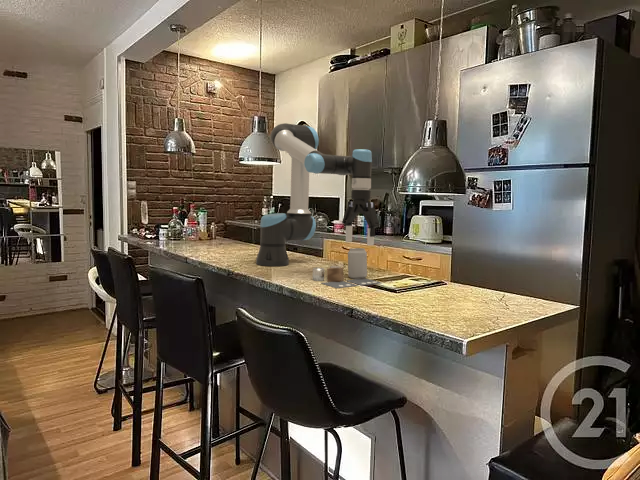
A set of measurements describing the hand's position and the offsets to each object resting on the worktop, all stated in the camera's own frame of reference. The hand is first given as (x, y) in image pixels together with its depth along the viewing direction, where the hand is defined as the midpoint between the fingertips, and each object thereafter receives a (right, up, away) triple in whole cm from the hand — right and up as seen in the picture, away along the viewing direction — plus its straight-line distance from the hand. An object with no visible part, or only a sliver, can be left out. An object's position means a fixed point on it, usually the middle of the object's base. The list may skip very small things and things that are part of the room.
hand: (359, 243), depth 187 cm
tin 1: (-16, -15, -5) cm, 22 cm away
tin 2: (-10, -14, -1) cm, 17 cm away
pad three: (+1, -15, -7) cm, 17 cm away
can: (-1, -14, +2) cm, 14 cm away
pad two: (-9, -16, -13) cm, 22 cm away
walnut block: (-10, -14, -7) cm, 18 cm away
